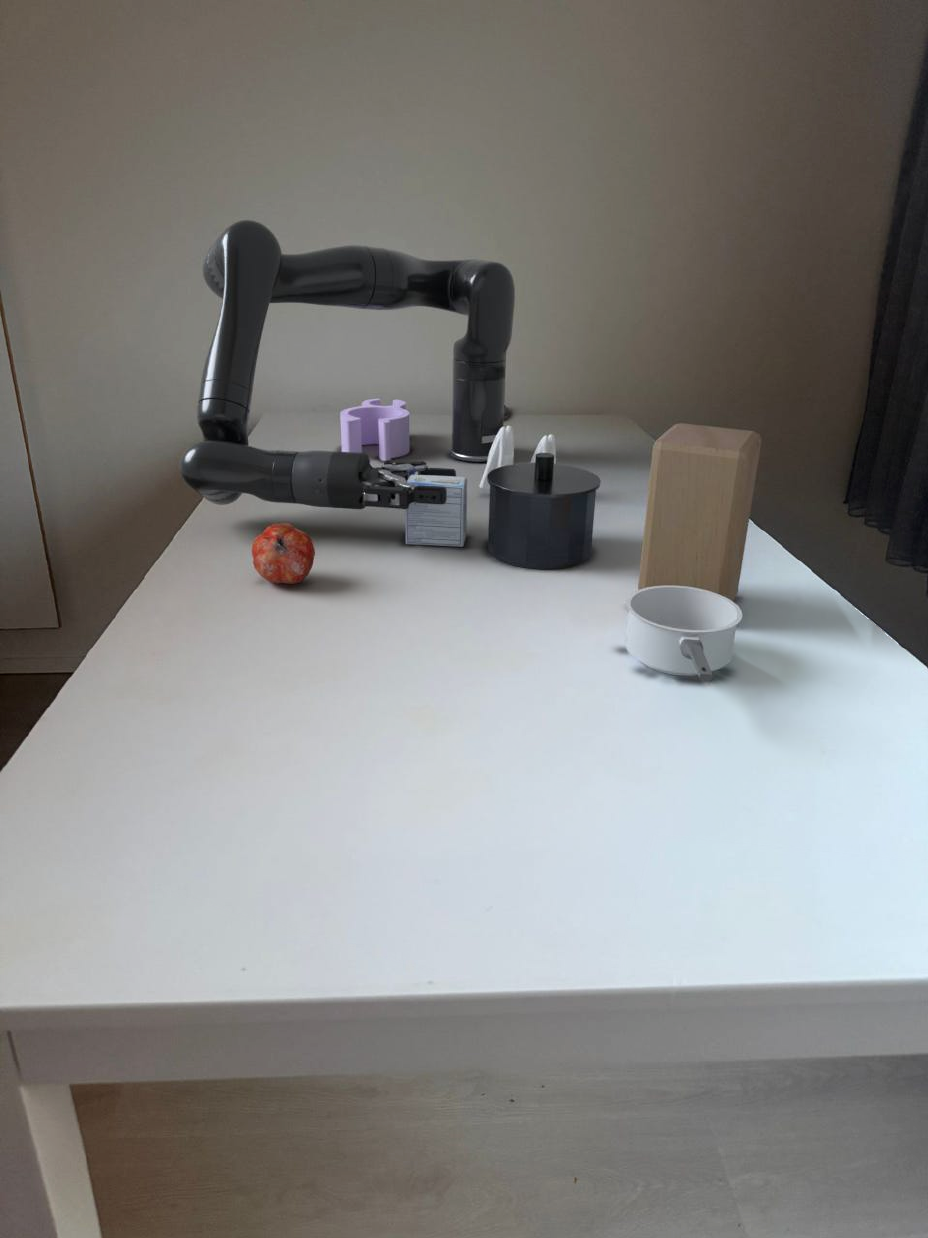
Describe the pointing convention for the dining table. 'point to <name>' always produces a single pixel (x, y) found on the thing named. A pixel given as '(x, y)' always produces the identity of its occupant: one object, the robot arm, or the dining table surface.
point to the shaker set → (511, 453)
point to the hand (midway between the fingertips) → (451, 486)
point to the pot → (540, 529)
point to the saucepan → (681, 629)
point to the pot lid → (543, 479)
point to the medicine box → (438, 514)
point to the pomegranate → (283, 554)
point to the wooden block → (699, 508)
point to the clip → (376, 428)
